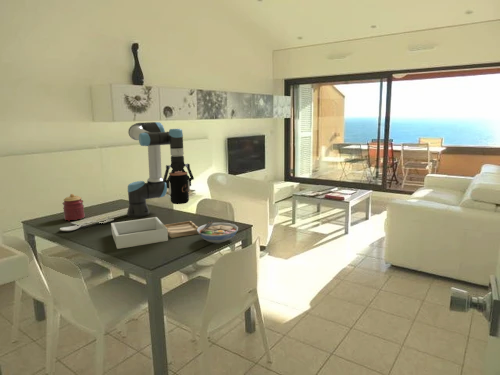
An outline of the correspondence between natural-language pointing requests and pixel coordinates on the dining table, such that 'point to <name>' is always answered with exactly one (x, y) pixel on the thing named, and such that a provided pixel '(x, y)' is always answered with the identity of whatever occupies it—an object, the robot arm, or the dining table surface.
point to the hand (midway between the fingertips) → (179, 192)
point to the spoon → (82, 224)
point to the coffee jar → (179, 187)
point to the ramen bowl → (217, 231)
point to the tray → (181, 229)
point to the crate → (138, 237)
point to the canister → (73, 208)
